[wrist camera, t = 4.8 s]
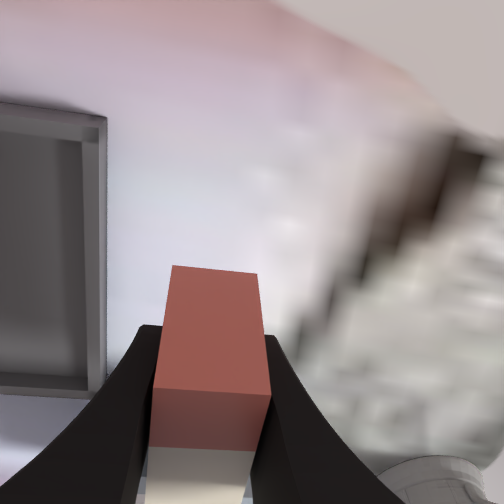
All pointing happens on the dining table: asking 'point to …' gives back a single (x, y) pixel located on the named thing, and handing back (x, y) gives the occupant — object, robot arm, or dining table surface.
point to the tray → (52, 252)
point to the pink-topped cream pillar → (207, 389)
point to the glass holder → (436, 481)
